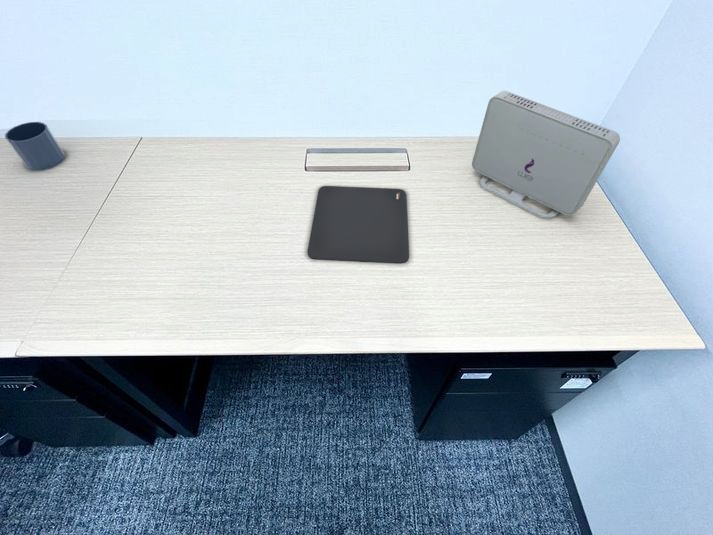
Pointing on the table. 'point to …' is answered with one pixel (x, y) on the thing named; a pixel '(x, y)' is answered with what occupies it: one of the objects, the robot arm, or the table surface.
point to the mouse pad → (360, 225)
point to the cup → (35, 145)
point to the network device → (541, 154)
